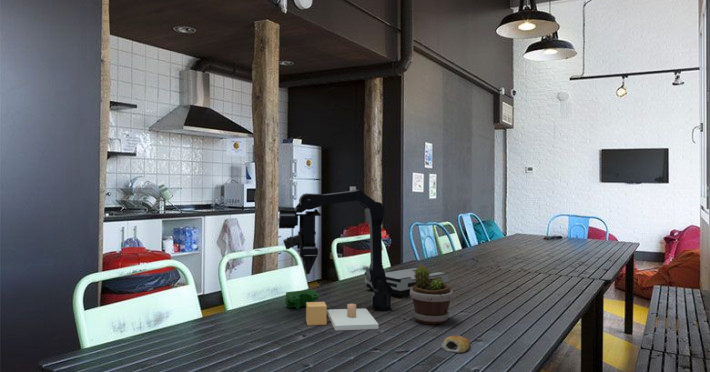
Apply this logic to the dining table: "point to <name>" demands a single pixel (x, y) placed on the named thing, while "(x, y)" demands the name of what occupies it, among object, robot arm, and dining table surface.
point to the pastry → (456, 344)
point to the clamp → (300, 298)
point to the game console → (405, 281)
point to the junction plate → (352, 318)
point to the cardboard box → (316, 313)
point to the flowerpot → (430, 298)
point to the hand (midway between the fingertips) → (306, 271)
